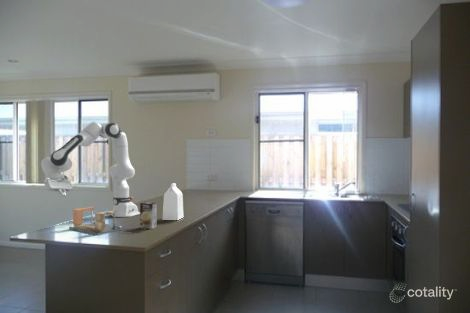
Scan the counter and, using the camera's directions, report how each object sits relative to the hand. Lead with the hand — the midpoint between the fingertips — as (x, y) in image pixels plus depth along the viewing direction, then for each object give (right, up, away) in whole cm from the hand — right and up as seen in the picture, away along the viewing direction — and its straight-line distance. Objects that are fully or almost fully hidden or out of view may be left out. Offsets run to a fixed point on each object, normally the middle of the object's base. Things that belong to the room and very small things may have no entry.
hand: (63, 195), depth 229 cm
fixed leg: (+25, -19, -11) cm, 33 cm away
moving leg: (+16, -17, -6) cm, 24 cm away
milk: (+67, -20, +25) cm, 75 cm away
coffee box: (+56, -20, -4) cm, 60 cm away
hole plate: (+26, -20, -10) cm, 34 cm away
